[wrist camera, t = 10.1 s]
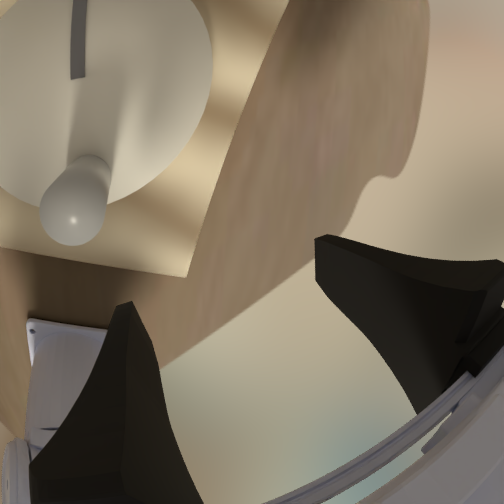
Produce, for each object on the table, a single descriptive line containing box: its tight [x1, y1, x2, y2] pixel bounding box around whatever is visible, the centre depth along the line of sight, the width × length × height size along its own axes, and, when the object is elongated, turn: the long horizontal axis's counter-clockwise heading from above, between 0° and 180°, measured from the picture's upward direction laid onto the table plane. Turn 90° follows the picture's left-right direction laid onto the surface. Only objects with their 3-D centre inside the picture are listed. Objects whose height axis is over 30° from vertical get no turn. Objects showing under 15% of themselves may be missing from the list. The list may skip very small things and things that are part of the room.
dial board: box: [0, 0, 289, 278], centre depth 12 cm, size 22×18×2 cm
